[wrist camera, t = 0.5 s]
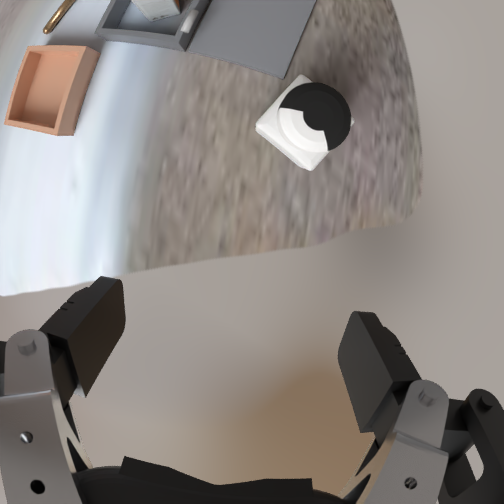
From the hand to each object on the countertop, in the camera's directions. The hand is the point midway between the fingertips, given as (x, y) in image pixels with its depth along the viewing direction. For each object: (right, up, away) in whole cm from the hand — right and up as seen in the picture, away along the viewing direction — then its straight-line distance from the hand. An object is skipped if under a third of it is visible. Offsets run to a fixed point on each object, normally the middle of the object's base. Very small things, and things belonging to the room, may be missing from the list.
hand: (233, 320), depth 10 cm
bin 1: (-27, +25, +20) cm, 42 cm away
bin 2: (-5, +33, +17) cm, 37 cm away
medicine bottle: (+6, +17, +23) cm, 29 cm away
